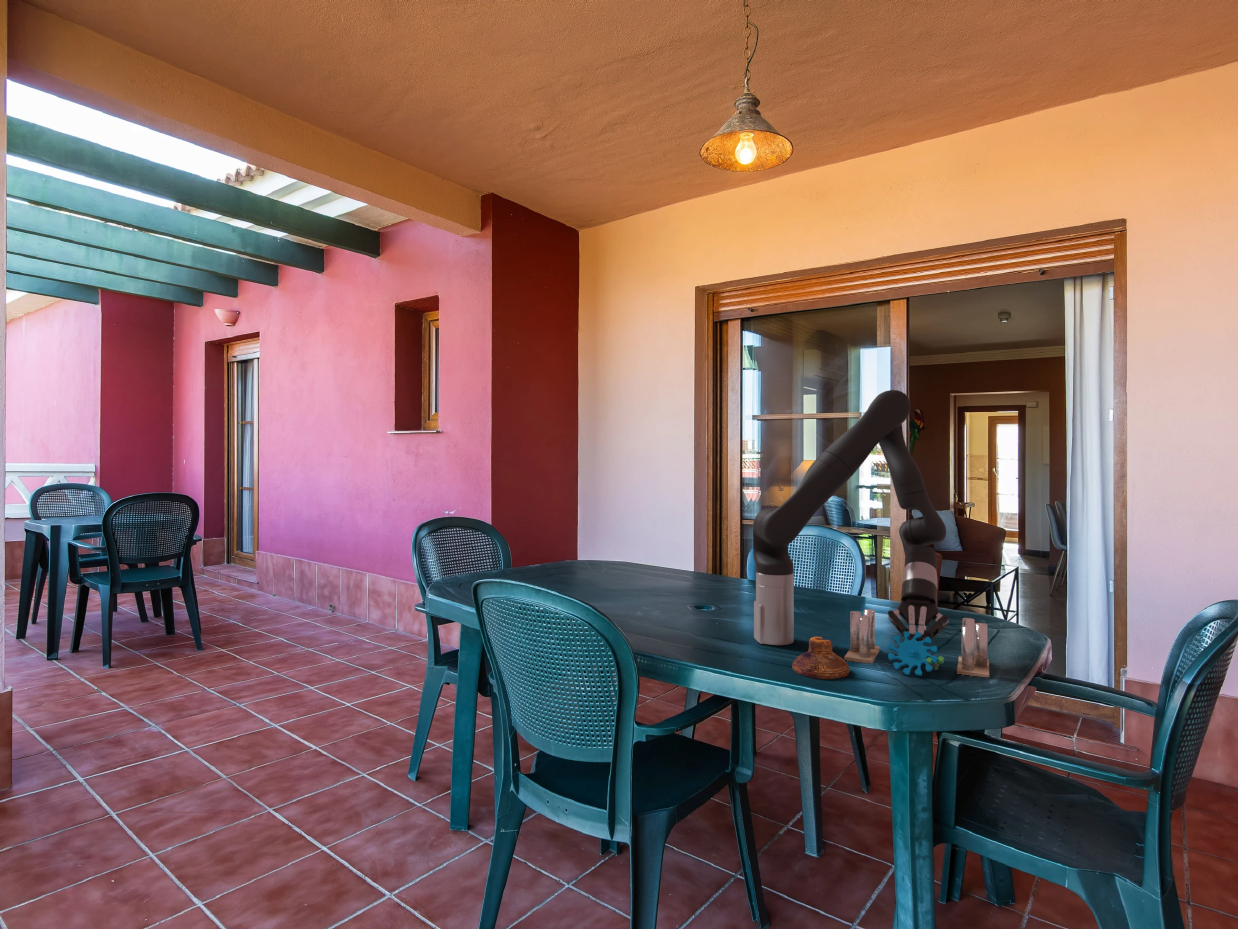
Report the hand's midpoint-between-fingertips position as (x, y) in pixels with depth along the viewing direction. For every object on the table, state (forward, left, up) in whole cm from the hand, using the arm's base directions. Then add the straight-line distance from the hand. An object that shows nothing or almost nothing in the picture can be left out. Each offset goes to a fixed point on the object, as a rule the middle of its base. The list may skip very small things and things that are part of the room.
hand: (915, 652), depth 150 cm
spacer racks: (+3, +7, -4) cm, 8 cm away
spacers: (+3, +7, -3) cm, 8 cm away
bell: (-21, +1, -4) cm, 21 cm away
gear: (-1, -1, -4) cm, 4 cm away
